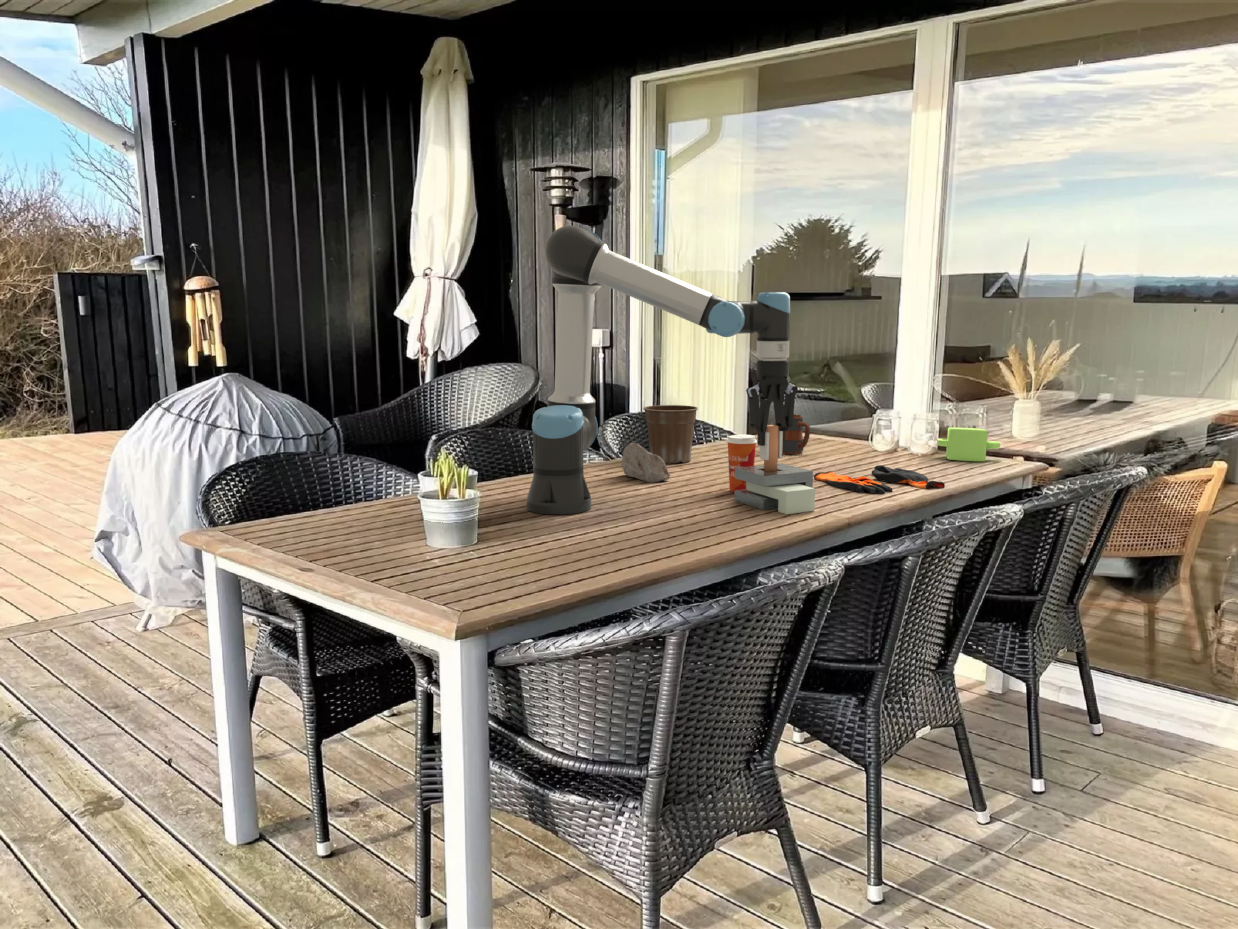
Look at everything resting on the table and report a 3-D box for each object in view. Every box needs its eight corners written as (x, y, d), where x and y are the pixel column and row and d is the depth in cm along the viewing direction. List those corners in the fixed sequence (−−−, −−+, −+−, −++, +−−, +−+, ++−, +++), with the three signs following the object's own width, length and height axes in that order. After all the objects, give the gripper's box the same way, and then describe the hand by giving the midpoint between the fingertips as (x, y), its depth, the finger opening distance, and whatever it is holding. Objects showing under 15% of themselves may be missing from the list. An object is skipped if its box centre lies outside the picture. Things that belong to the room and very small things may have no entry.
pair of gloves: (865, 498, 244) (866, 484, 243) (808, 481, 266) (808, 468, 265) (951, 489, 255) (952, 476, 254) (889, 473, 277) (890, 461, 276)
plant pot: (646, 455, 304) (646, 403, 302) (698, 456, 302) (699, 404, 299) (640, 464, 289) (640, 410, 286) (695, 466, 286) (696, 410, 284)
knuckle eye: (786, 514, 224) (786, 491, 223) (746, 501, 238) (746, 480, 237) (814, 510, 227) (815, 488, 226) (773, 498, 241) (773, 477, 241)
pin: (761, 475, 236) (761, 425, 234) (771, 474, 237) (773, 424, 235) (769, 477, 233) (770, 427, 231) (780, 476, 234) (781, 426, 232)
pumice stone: (673, 481, 263) (673, 444, 262) (651, 484, 259) (651, 447, 257) (637, 473, 275) (637, 438, 273) (616, 476, 271) (616, 440, 269)
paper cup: (719, 491, 250) (720, 436, 248) (737, 486, 256) (738, 433, 253) (744, 495, 245) (745, 439, 242) (762, 490, 250) (763, 436, 248)
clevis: (763, 510, 228) (764, 476, 227) (734, 500, 239) (734, 467, 237) (811, 504, 234) (813, 470, 233) (781, 495, 245) (782, 463, 244)
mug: (799, 457, 301) (800, 419, 299) (769, 452, 310) (770, 415, 308) (817, 454, 307) (818, 416, 305) (787, 449, 316) (788, 413, 314)
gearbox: (997, 459, 300) (999, 428, 299) (1001, 463, 290) (1004, 431, 289) (935, 455, 304) (937, 425, 303) (937, 459, 295) (939, 428, 293)
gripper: (753, 361, 223) (751, 463, 227) (810, 358, 231) (808, 457, 235) (734, 359, 230) (733, 458, 234) (791, 357, 237) (789, 453, 241)
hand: (770, 458), depth 234 cm, fingers closed on pin, 3 cm apart
